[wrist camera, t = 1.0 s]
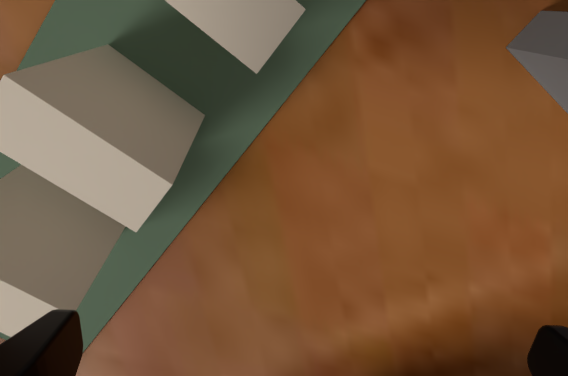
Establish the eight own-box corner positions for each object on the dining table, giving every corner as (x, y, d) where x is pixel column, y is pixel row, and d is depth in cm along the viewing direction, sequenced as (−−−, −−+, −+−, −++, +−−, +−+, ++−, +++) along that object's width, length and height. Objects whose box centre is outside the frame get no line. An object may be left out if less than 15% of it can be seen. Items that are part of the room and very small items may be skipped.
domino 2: (137, 206, 21) (72, 316, 14) (117, 234, 22) (44, 352, 14) (43, 149, 20) (-85, 237, 12) (24, 180, 20) (-109, 282, 13)
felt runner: (463, -125, 16) (467, -127, 16) (71, 365, 26) (69, 369, 25) (261, -368, 13) (261, -376, 13) (-100, 286, 23) (-104, 289, 22)
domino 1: (205, 115, 19) (172, 184, 12) (181, 147, 20) (136, 232, 13) (108, 44, 18) (3, 74, 11) (85, 81, 18) (-29, 134, 11)
